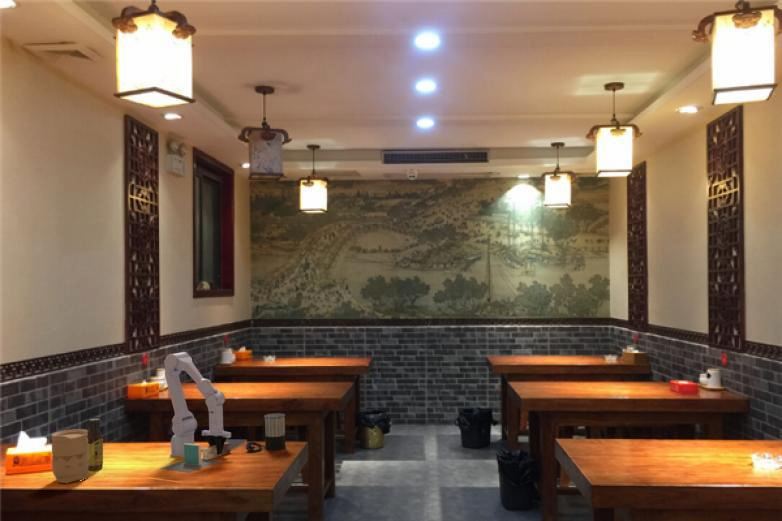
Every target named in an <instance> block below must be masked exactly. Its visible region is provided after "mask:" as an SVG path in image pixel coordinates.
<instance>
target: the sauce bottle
mask: <svg viewBox="0 0 782 521" xmlns="http://www.w3.org/2000/svg"><path fill="white" fill-rule="evenodd" d="M88 423H89V432H87V433H88V435H87V439H88V471H95V470H96V471H97V470H100V469H102V468H103V464H104V438H103V435H102V433H101V429H100V423H101V420H100V418H92V419H91V418H90V419H89V421H88Z"/></svg>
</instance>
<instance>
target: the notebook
mask: <svg viewBox="0 0 782 521" xmlns="http://www.w3.org/2000/svg"><path fill="white" fill-rule="evenodd" d="M226 442H227V443H230V452H231V451H233V450H234V449H236V448H238V447H240V446H241V445H244V444H245V445H246V444H247V443H248V439H231V438H227V439H226V441H225V443H226ZM208 447H210V446H208ZM201 452H203V449H201Z"/></svg>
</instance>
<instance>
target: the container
mask: <svg viewBox="0 0 782 521" xmlns="http://www.w3.org/2000/svg"><path fill="white" fill-rule="evenodd" d="M88 433H89V432H88V430H87V429H82V428H81V429H80V428H77V429H73V428H72V429H65V430H60V431H56V432H53V433H52V434H51V441H52V442H51V455H52V457H51V465H52V467H51V468H52V474H53V476H54V478H55V479H56V481H57V483H59V482H60V483H59V484H63V483H69V482H71V483H73V482H77V481H79V480H83V479H85V478H87V479H88V478H89V470H88V439H87V435H88ZM76 480H77V481H76Z"/></svg>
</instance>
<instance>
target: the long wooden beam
mask: <svg viewBox="0 0 782 521" xmlns="http://www.w3.org/2000/svg"><path fill="white" fill-rule="evenodd" d="M202 450H203V451H202V459H205V460H213V459H214V458H218V457H221V456H224V455H227V454H231V451H230V443H227V442H226V443H224V446H223V450H222V454H219V455H218V454H217V446H216V445H214V446H210V447H209V446H207V447H203V448H202Z"/></svg>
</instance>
